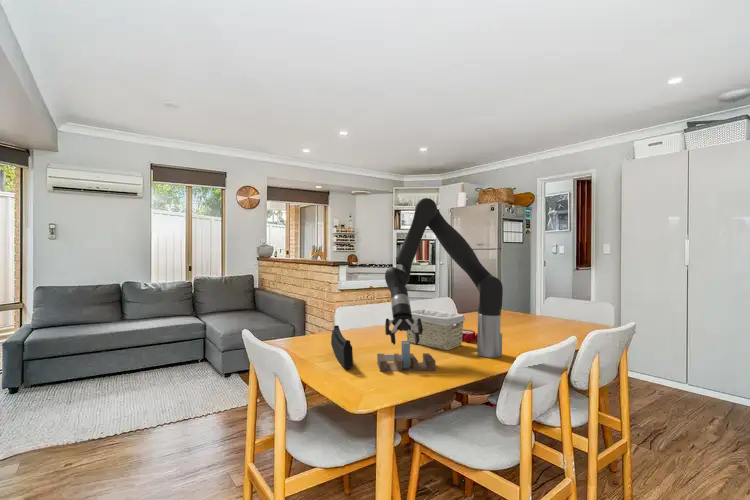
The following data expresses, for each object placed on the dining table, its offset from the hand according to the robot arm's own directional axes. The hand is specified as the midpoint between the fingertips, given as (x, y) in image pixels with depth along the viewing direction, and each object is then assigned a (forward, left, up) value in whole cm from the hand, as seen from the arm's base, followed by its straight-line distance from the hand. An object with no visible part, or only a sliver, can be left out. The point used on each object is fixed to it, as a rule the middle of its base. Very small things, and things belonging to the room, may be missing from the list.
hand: (405, 343), depth 147 cm
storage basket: (-19, -34, -9) cm, 40 cm away
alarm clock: (-38, -42, -9) cm, 57 cm away
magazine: (+24, -11, -9) cm, 28 cm away
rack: (0, +1, -9) cm, 9 cm away
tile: (0, +1, -8) cm, 8 cm away
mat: (+4, -11, -9) cm, 15 cm away
